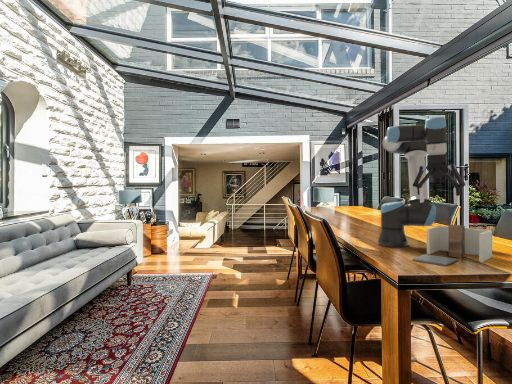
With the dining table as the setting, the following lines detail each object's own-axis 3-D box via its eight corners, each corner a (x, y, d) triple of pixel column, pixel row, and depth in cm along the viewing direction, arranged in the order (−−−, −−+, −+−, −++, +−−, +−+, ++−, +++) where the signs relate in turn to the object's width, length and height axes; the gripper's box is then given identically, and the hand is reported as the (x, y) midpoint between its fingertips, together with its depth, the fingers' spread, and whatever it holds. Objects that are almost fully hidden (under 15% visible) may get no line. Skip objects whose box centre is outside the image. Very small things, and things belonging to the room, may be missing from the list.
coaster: (412, 260, 141) (412, 258, 140) (424, 255, 149) (424, 254, 149) (444, 266, 131) (444, 264, 131) (456, 260, 139) (456, 258, 139)
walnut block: (460, 257, 144) (460, 226, 143) (448, 256, 148) (448, 225, 147) (464, 256, 147) (464, 225, 147) (452, 254, 151) (452, 224, 150)
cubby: (482, 262, 136) (482, 234, 135) (426, 253, 153) (426, 228, 152) (492, 256, 145) (492, 230, 144) (438, 249, 162) (438, 225, 161)
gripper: (403, 156, 145) (405, 202, 147) (467, 152, 126) (469, 205, 128) (410, 155, 150) (412, 200, 152) (473, 151, 131) (474, 202, 133)
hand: (438, 202), depth 140 cm, fingers open, 13 cm apart
